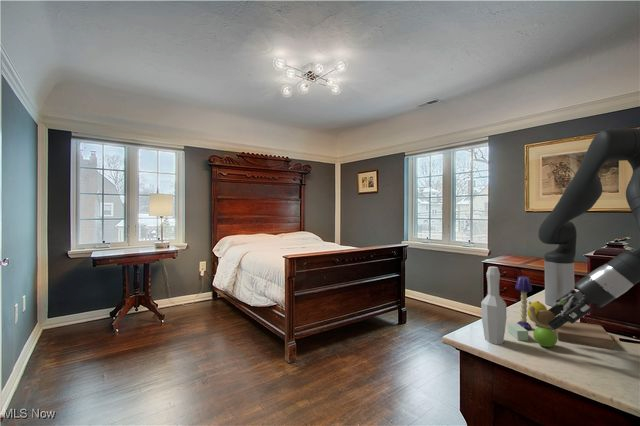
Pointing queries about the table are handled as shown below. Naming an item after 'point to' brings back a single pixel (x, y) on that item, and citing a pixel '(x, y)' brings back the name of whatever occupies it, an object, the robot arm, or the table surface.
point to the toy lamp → (524, 299)
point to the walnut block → (584, 334)
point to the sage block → (517, 331)
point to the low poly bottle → (493, 309)
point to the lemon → (536, 308)
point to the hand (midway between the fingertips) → (548, 321)
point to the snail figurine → (543, 327)
